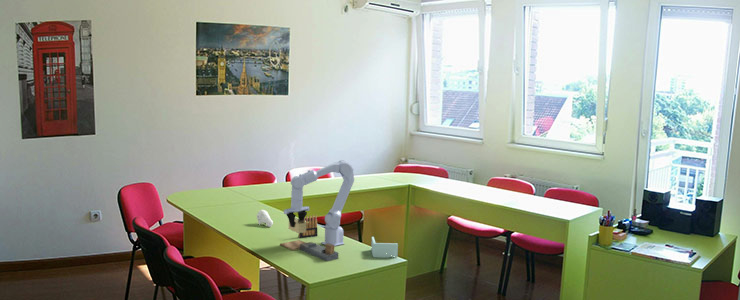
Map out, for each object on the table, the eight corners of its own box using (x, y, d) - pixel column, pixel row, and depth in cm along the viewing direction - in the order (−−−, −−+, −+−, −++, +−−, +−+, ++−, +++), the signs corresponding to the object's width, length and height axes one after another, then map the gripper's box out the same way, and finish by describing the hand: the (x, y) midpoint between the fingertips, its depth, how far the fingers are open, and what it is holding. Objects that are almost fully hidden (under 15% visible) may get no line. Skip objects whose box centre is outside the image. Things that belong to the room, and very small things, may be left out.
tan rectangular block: (295, 227, 293) (296, 218, 292) (305, 232, 286) (306, 222, 286) (288, 228, 290) (288, 219, 289) (298, 233, 283) (299, 223, 283)
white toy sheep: (265, 208, 332) (276, 214, 324) (264, 222, 334) (275, 228, 326) (256, 209, 328) (267, 215, 320) (255, 223, 330) (266, 229, 321)
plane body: (311, 247, 288) (311, 234, 287) (338, 258, 272) (338, 244, 271) (299, 250, 283) (300, 236, 282) (326, 261, 267) (327, 247, 266)
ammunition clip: (299, 238, 303) (300, 216, 302) (298, 237, 305) (298, 215, 304) (317, 236, 309) (318, 214, 308) (316, 235, 311) (316, 214, 309)
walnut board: (299, 241, 298) (299, 240, 298) (311, 246, 290) (311, 244, 290) (279, 245, 290) (279, 243, 290) (292, 250, 282) (292, 248, 282)
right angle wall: (397, 258, 277) (398, 243, 276) (372, 258, 276) (373, 243, 276) (394, 251, 289) (395, 237, 288) (371, 251, 288) (371, 236, 287)
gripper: (303, 197, 295) (303, 222, 296) (280, 200, 285) (279, 226, 286) (312, 199, 289) (311, 225, 291) (288, 202, 280) (287, 229, 281)
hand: (296, 226), depth 288 cm, fingers closed on tan rectangular block, 4 cm apart
